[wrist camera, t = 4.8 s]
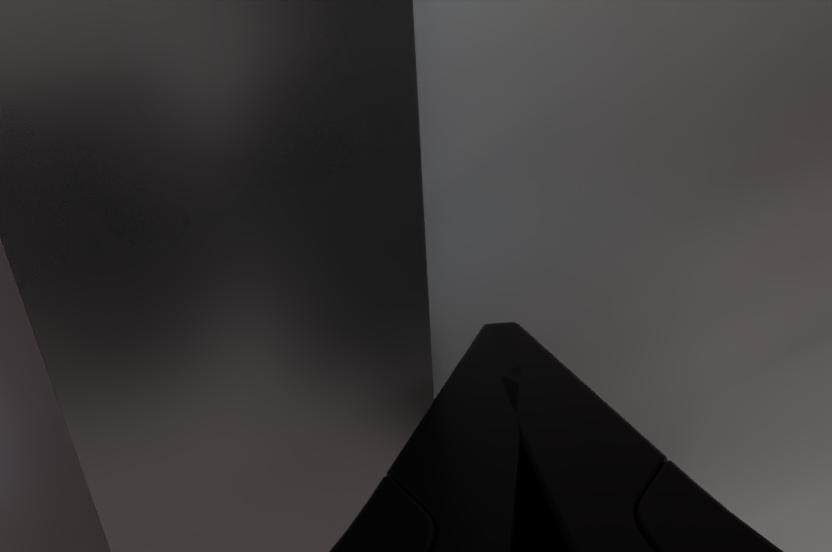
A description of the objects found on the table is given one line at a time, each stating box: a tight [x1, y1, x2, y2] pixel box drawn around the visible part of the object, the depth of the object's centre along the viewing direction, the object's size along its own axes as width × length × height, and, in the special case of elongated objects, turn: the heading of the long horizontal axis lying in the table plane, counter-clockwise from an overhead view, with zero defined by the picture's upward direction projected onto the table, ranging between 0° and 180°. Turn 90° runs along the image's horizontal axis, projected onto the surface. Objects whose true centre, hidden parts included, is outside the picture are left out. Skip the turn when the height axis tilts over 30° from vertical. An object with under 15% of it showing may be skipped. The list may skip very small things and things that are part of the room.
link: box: [0, 0, 434, 552], centre depth 9 cm, size 24×6×3 cm, turn 3°
